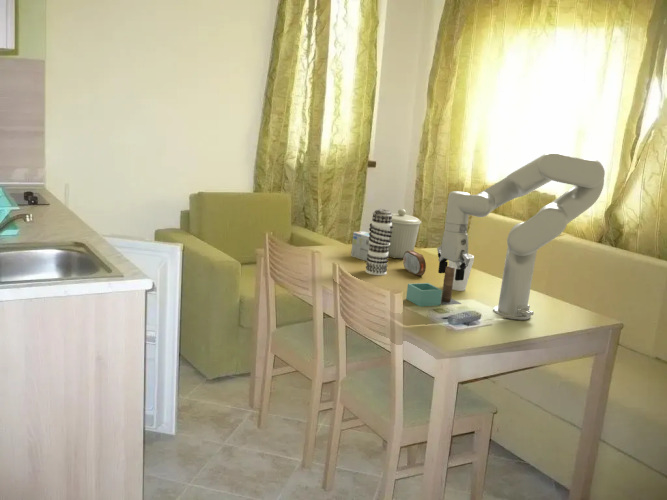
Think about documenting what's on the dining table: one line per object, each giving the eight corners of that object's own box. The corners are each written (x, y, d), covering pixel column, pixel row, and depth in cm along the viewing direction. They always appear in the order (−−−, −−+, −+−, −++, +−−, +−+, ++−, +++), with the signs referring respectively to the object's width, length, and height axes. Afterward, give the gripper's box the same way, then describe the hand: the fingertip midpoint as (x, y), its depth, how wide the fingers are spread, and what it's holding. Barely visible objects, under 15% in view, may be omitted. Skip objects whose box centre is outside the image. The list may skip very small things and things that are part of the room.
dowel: (452, 301, 242) (456, 268, 239) (444, 302, 241) (449, 268, 238) (446, 299, 245) (451, 266, 242) (439, 299, 243) (443, 266, 241)
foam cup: (469, 293, 258) (474, 259, 255) (444, 289, 259) (448, 255, 257) (469, 287, 267) (474, 254, 264) (445, 283, 268) (449, 250, 266)
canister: (397, 262, 296) (403, 213, 291) (367, 252, 308) (373, 206, 304) (425, 258, 308) (431, 212, 303) (395, 249, 321) (400, 204, 316)
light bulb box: (379, 260, 296) (381, 235, 294) (368, 262, 291) (370, 237, 289) (361, 254, 303) (363, 230, 301) (350, 256, 299) (352, 231, 296)
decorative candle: (375, 268, 282) (381, 207, 276) (392, 274, 275) (399, 211, 270) (359, 270, 275) (366, 208, 270) (377, 276, 269) (384, 212, 263)
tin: (425, 277, 275) (427, 257, 273) (418, 278, 273) (420, 257, 272) (407, 267, 288) (410, 248, 286) (400, 268, 287) (403, 248, 285)
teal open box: (439, 306, 237) (442, 289, 236) (419, 308, 233) (421, 290, 232) (426, 299, 244) (428, 283, 243) (405, 300, 240) (407, 283, 239)
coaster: (461, 305, 241) (461, 303, 241) (442, 306, 238) (442, 304, 237) (448, 298, 248) (448, 296, 248) (429, 299, 244) (429, 297, 244)
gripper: (480, 232, 231) (474, 282, 235) (450, 223, 246) (444, 269, 250) (462, 233, 228) (456, 283, 231) (432, 223, 243) (427, 270, 246)
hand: (450, 276), depth 241 cm, fingers open, 9 cm apart
